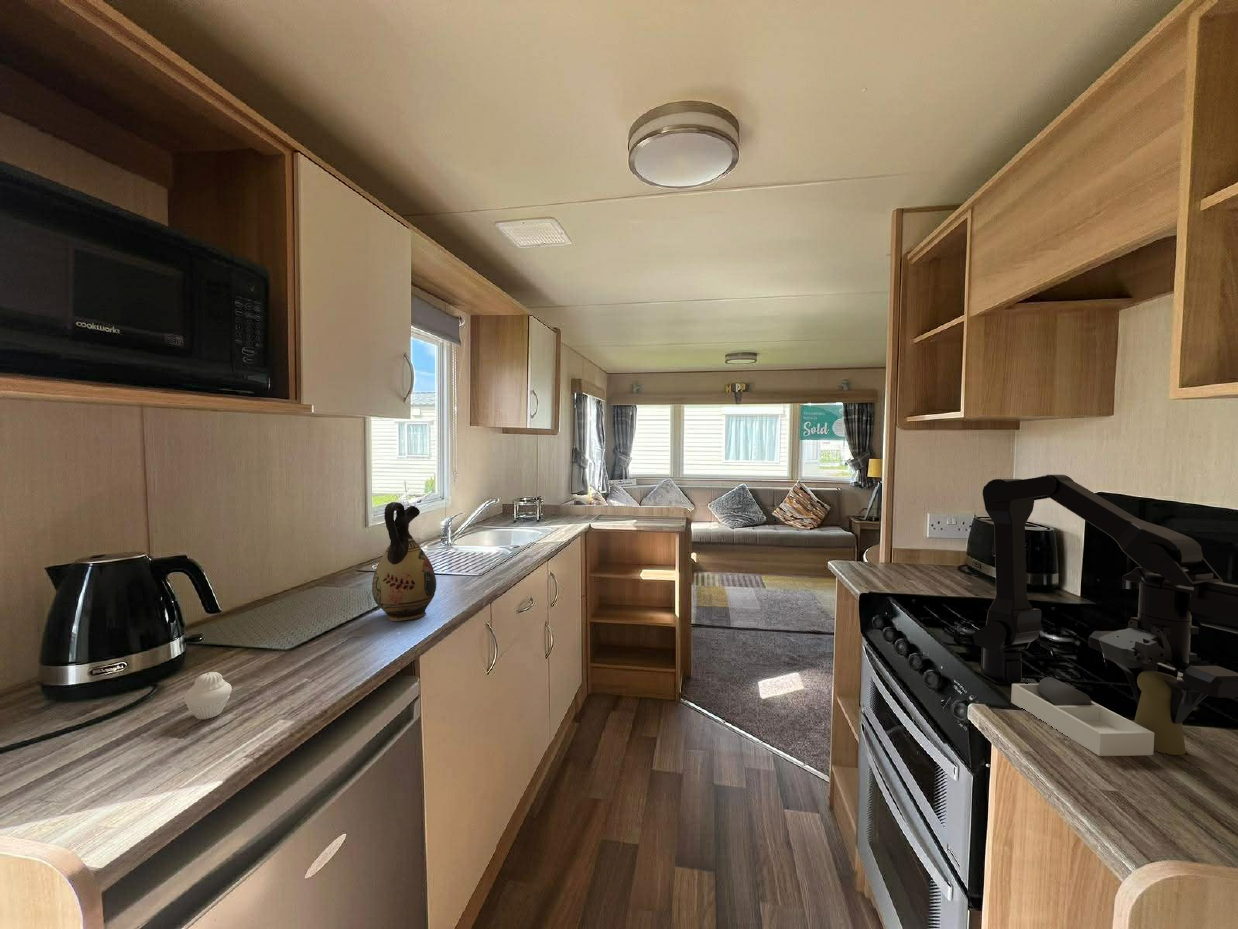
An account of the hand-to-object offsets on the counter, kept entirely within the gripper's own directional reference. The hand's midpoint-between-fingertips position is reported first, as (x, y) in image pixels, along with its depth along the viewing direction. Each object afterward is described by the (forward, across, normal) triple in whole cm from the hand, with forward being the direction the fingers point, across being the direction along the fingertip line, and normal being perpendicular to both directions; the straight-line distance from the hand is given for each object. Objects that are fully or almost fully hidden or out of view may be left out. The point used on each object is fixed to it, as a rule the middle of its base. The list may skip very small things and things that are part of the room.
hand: (1158, 715), depth 82 cm
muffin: (+5, -13, -150) cm, 151 cm away
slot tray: (+4, -5, -8) cm, 11 cm away
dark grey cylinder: (+1, -9, -7) cm, 12 cm away
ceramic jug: (+5, -62, -136) cm, 150 cm away
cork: (+5, 0, 0) cm, 5 cm away
